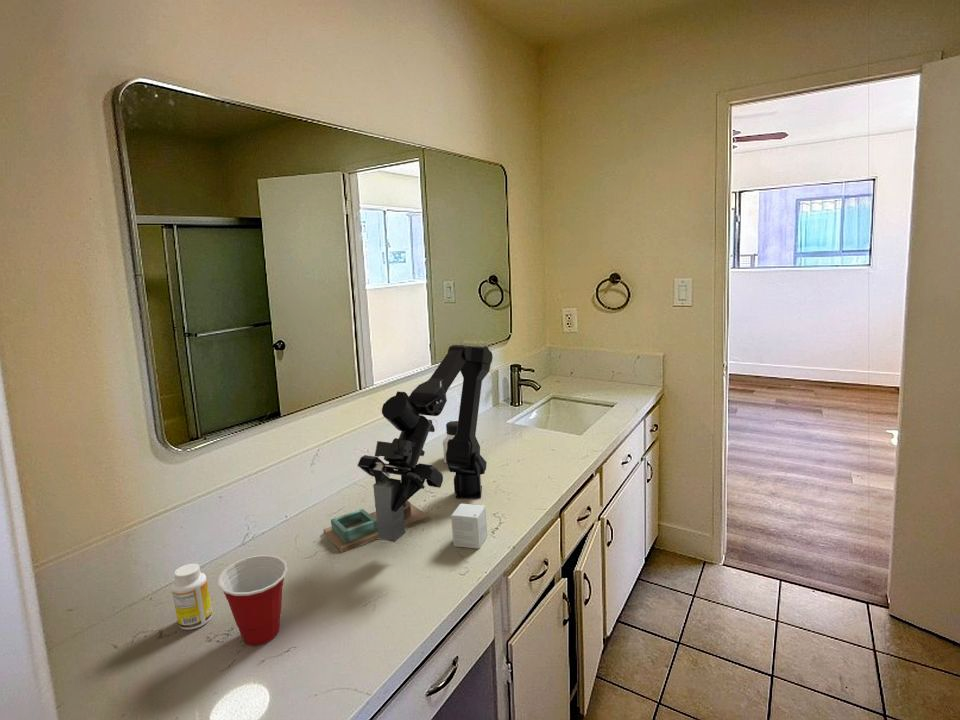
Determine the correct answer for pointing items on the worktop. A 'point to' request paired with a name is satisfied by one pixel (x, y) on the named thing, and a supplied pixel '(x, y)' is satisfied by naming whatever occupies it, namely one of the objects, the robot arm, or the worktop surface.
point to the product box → (469, 526)
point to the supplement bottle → (191, 597)
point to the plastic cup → (255, 596)
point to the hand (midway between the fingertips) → (385, 509)
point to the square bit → (388, 510)
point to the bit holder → (365, 526)
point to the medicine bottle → (449, 435)
